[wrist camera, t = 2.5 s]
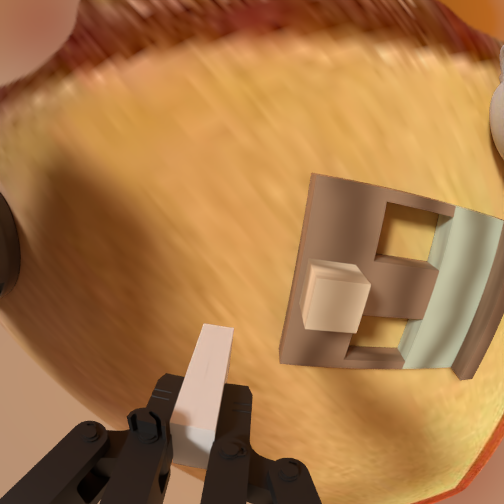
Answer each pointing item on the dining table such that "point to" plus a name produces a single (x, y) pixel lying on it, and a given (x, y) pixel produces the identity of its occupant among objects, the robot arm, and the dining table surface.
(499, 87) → the teacup
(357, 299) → the block
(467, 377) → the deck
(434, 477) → the dining table surface
